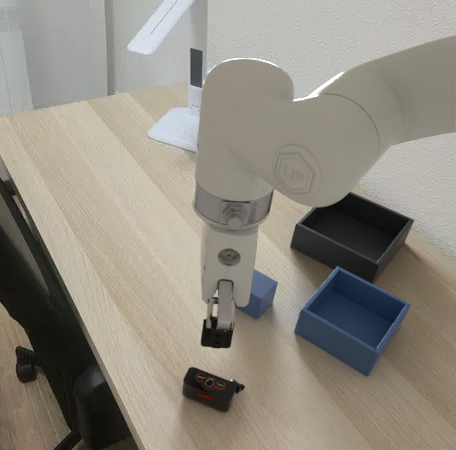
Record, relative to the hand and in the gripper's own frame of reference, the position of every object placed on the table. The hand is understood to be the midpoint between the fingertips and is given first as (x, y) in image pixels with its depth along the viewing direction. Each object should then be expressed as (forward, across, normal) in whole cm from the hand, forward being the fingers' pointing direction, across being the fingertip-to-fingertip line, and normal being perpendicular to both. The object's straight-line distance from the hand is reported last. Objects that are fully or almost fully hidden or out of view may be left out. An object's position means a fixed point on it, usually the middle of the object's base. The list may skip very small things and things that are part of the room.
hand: (215, 310), depth 63 cm
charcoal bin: (+14, +29, -24) cm, 40 cm away
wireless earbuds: (+14, -2, -1) cm, 14 cm away
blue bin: (+14, +10, -20) cm, 27 cm away
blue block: (+14, +14, -7) cm, 21 cm away
